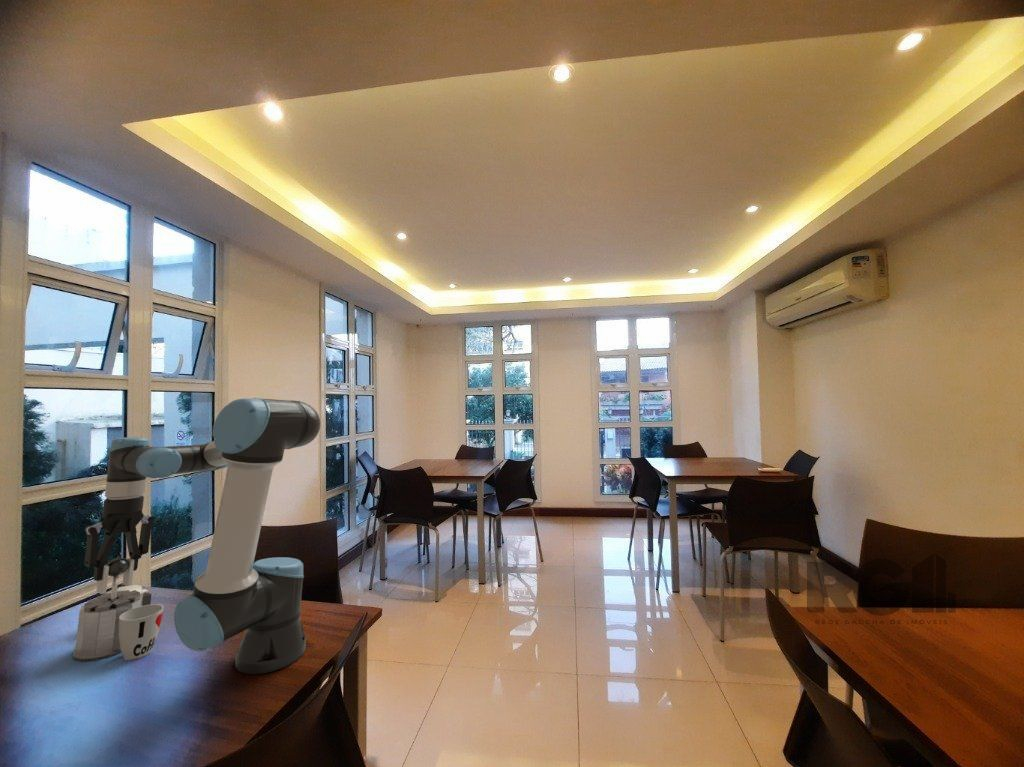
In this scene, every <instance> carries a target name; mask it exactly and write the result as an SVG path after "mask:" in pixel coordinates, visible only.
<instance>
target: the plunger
mask: <svg viewBox="0 0 1024 767" xmlns="http://www.w3.org/2000/svg"><path fill="white" fill-rule="evenodd" d="M126 559H127V558H124V557H115V558H113V559H111V560H109V561H108V562H107V563H106V565H107V566H109V571H108V577H112V583H111V584H112V585H111V590H112V591H111V600H110V601H112V600H116V594H117V588H118V585H119V576H121V575H124V572H125V571H126V570H127V568H128V566H129V563H128V561H127V560H126ZM111 609H115V607H112V608H111Z"/></svg>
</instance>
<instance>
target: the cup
mask: <svg viewBox="0 0 1024 767" xmlns="http://www.w3.org/2000/svg"><path fill="white" fill-rule="evenodd" d="M164 607H165V606H164V605H163V604H157V603H156V604H155V603H154V604H151V603H150V605H145V606H140V607H137V608H133V609H131V610H128V611H126V612H124V613H123V614H121V615H120V617H119V641H120V649H121V654H122V658H123V659H124V660H125V661H131V660H132V661H133V660H137V659H140V658H142V657H146V656H147V655H149V654H150V653H151V652H152V650H153V648H154V646H155V643H156V642H157V638H158V635H159V632H160V628H161V624H162V619H163V614H164V613H163V612H164Z"/></svg>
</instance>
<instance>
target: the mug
mask: <svg viewBox="0 0 1024 767" xmlns="http://www.w3.org/2000/svg"><path fill="white" fill-rule="evenodd" d="M125 590H130V591H133V590H136V591H138V592H140V593H141V594H143V593H146V592H147V593H149V590H148V589H145V588H143V586H142V585H140V584H132V585H131V586H126V585H124V586H119V587H117V591H125ZM111 591H112V589H111V590H108V591H106V593H104V594H108V593H111ZM130 591H129V592H130Z"/></svg>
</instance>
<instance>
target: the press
mask: <svg viewBox="0 0 1024 767" xmlns="http://www.w3.org/2000/svg"><path fill="white" fill-rule="evenodd" d="M129 591H130V590H125V591H117V594H116V600H112V601H110V600H111V593H108V594H105V593H104V594H101V595H98V596H96V598H91V599H89V600H88V601H86V602H85V603H84V604H83V605H82V606H81V608H80V609H79V614H78V623H77V629H76V630H77V631H76V636H75V637H76V640H75V647H74V650H73V652H72V658H73V661H77V662H93V661H99V660H103V659H107V658H110V657H113V656H116V655H118V654H122V652H121V649H120V641H119V617H120V615H121V614H123V613H124V612H126V611H128V610H131V609H133V608H137V607H140V606H145V605H151V602H152V593H150V592H148V593H147V592H146V593H143V594H141V593H140V592H138V591H136V590H133V591H130V592H129ZM112 607H115V609H111V608H112Z"/></svg>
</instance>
